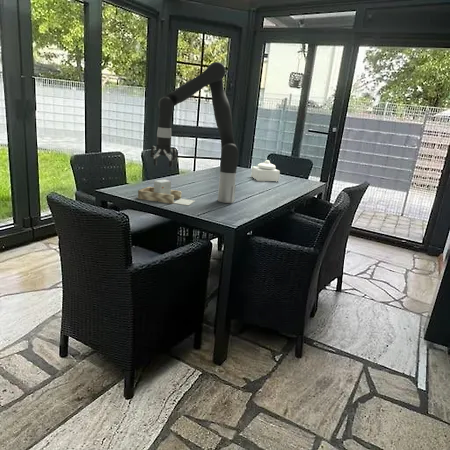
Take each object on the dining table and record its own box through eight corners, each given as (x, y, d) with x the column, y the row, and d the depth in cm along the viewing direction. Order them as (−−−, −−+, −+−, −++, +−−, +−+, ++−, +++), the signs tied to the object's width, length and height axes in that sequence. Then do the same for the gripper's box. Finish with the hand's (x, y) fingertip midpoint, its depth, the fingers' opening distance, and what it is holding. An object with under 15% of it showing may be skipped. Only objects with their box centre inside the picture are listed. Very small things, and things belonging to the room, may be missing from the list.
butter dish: (257, 181, 285) (259, 161, 280) (250, 177, 301) (252, 157, 296) (278, 182, 289) (281, 162, 284) (270, 177, 306) (273, 158, 301)
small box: (164, 197, 211) (164, 179, 208) (170, 199, 208) (171, 181, 205) (153, 199, 205) (153, 180, 202) (159, 201, 202) (160, 182, 199)
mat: (195, 201, 208) (195, 200, 207) (188, 205, 197) (188, 205, 197) (180, 199, 210) (180, 198, 209) (173, 203, 199) (173, 202, 199)
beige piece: (181, 198, 210) (181, 191, 209) (172, 203, 198) (172, 195, 197) (148, 194, 215) (148, 186, 214) (138, 198, 203) (138, 190, 202)
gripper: (179, 137, 198) (177, 167, 202) (155, 134, 201) (154, 164, 206) (173, 138, 191) (172, 169, 195) (148, 135, 194) (148, 165, 199)
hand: (163, 166), depth 201 cm, fingers open, 8 cm apart
